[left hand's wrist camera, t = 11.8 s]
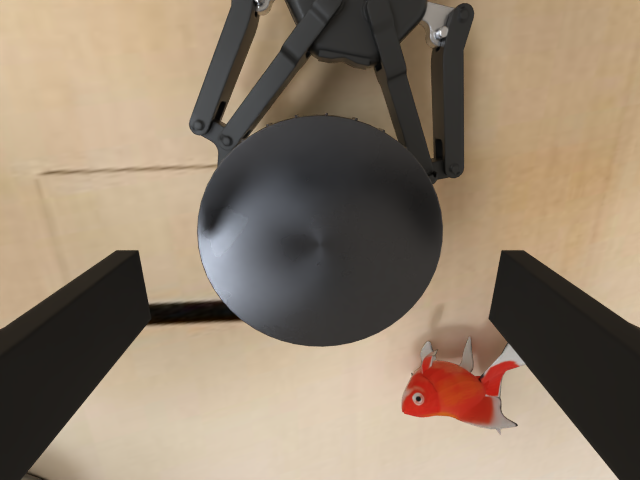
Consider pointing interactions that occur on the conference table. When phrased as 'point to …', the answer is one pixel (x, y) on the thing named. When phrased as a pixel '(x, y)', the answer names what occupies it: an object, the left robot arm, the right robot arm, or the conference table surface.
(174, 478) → the conference table surface
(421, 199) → the lid
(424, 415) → the fish
